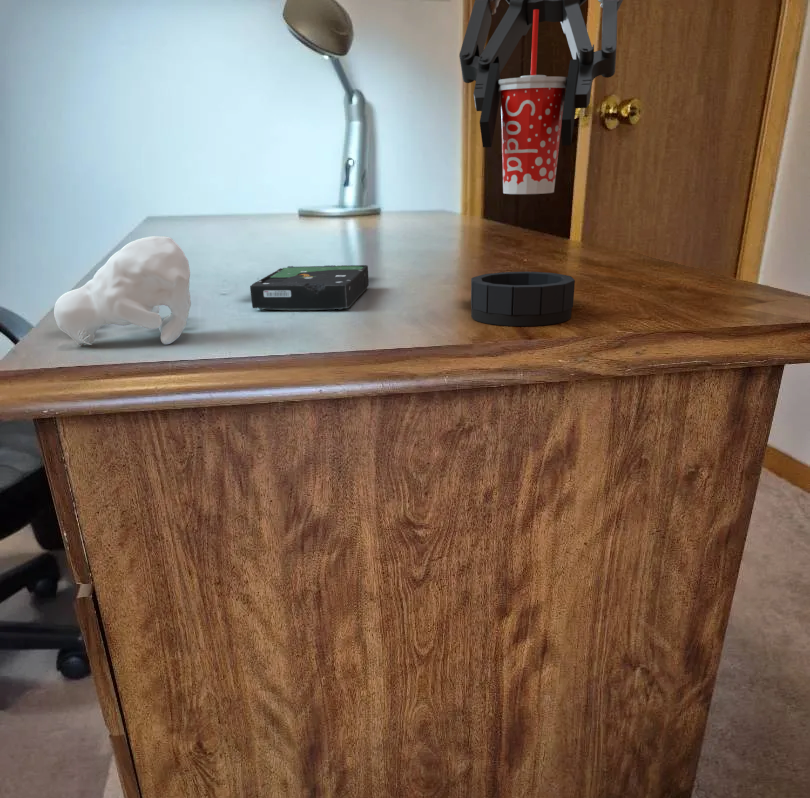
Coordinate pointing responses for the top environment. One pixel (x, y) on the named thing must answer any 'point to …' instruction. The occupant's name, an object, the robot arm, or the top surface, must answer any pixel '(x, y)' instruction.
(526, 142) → the beverage cup
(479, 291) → the segmented ring
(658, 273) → the top surface
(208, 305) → the top surface
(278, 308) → the disk drive
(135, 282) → the white lumpy figure
